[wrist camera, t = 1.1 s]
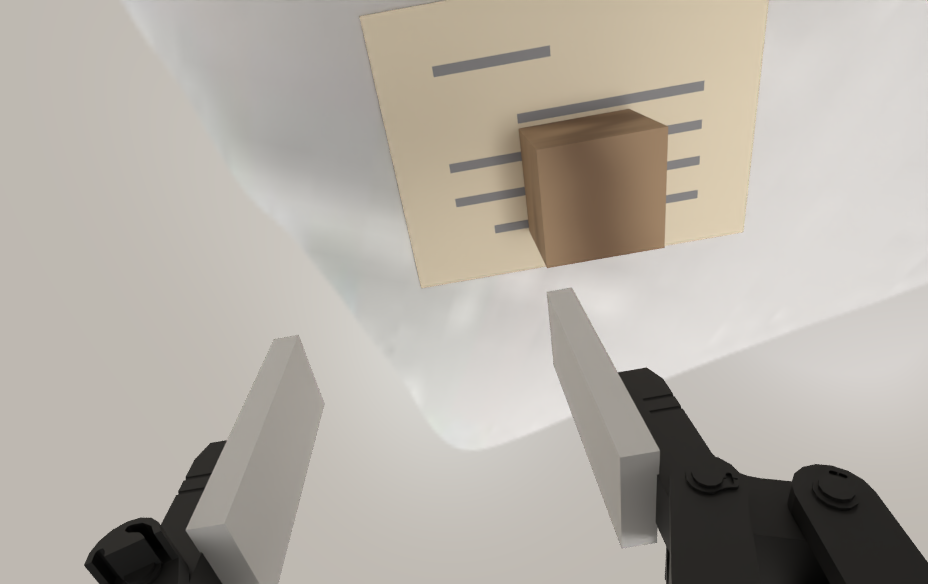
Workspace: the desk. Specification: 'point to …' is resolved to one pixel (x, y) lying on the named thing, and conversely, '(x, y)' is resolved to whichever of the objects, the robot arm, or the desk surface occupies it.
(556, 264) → the block
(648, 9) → the letter
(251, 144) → the desk surface
